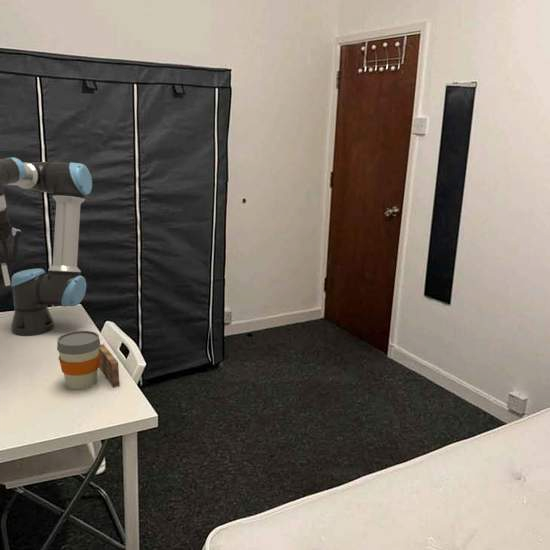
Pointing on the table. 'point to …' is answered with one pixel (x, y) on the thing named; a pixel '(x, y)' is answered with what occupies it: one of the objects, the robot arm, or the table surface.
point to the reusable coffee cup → (79, 358)
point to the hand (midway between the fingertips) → (7, 284)
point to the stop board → (109, 366)
